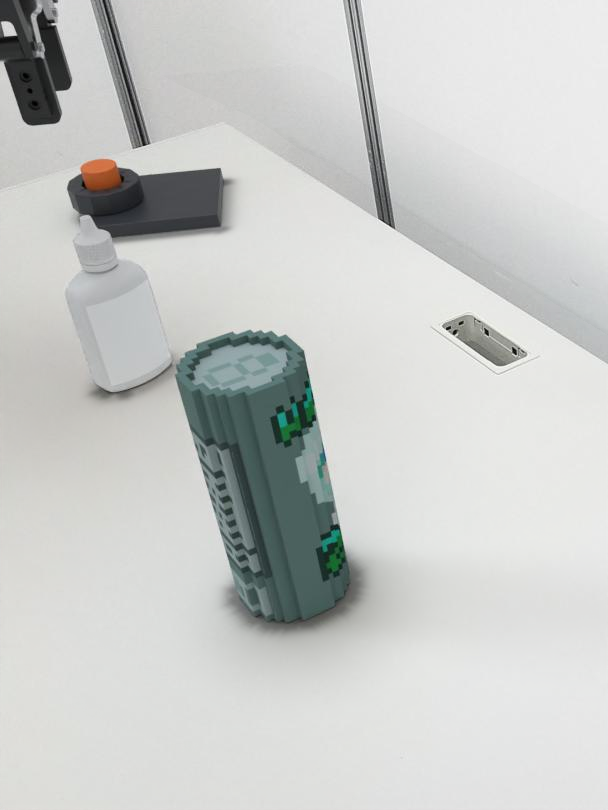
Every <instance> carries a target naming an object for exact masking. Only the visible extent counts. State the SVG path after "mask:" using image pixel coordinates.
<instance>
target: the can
mask: <svg viewBox="0 0 608 810" xmlns="http://www.w3.org/2000/svg"><path fill="white" fill-rule="evenodd" d="M195 346H196V348H194V349H190V350H188V351H185V352H184V356H183V357H180V358H179V360H180V362H179V363H176V364H175V367H176V372H177V373H175V374H174V379H175V382H176V384H177V389H178V391H179V395H180V398H181V402H182V405H183V409H184V412H185V415H186V419H187V423H188V426H189V429H190V434H191V437H192V440H193V443H194V447H195V450H196V454H197V457H198V460H199V464H200V467H201V471H202V474H203V478H204V481H205V484H206V488H207V491H208V496H209V498H210V502H211V505H212V509H213V512H214V516H215V519H216V523H217V527H218V530H219V531H220V533H219V534H220V537H221V540H222V543H223V547H224V550H225V553H226V557H227V560H228V564H229V567H230V568H229V569H230V571H231V575H232V577H233V581H234V585H235V588H236V591H237V595H238V597H239V598H238V599H239V600H240V601H241V602H242V603H243V605H244V606H245V607H246V608H247V610H249V612H250V613H251V614H252V616H253V617H255V618H256V617H258V616H260V615H262V616H263V618H264V619H265V620H266V622H270V621H273V620H275V621H276V623H280V622H282V621H285V623H287V624H289V623H292V622H293V621H295V620H298V619H301V620H302V621H303V622H305V621H307V620H309V619H310V618H311V619H312V618H313V617H315V616H317V615H320V614H321V613H323V612H326V611H328V610H330V609H332V608H334V607H336V601H337V600H340V599H342V598H344V597H345V592H346V591H348V585H350V584H351V580H350V575H349V574H350V569H349V564H348V563H349V562H348V558H347V554H346V549H345V544H344V539H343V533H342V529H341V525H340V520H339V515H338V510H337V505H336V504H337V503H336V500H335V495H334V490H333V486H332V485H333V484H332V481H331V476H330V470H329V466H328V461H327V455H326V451H325V447H324V442H323V441H324V440H323V435H322V431H321V427H320V422H319V417H318V413H317V407H316V403H315V398H314V397H315V396H314V393H313V388H312V383H311V379H310V373H309V367H308V364H307V359H306V353H305V350H304V349H303V348H302V347H301V346H299V344H297V343H296V342H295V341H294V340H293V339H292V338H291V337H290V336H289V335H287V334H286V333H285V334H282V335H280V336H278V335H277V334H276V333H275V332H274V331H272V330H269V331H267V332H264V331H263V330H262V329H260V330H257V331H253V330H252V329H248V330H244V331H242V332H239V333H237V334H236V333H235V332H234V331H229V332H227V333H223V334H221V335H218V336H216V337H213V338H210V339H207V340H204V341H201V342H198V343H196V344H195Z"/></svg>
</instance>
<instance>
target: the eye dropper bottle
mask: <svg viewBox="0 0 608 810" xmlns="http://www.w3.org/2000/svg"><path fill="white" fill-rule="evenodd" d="M79 223H80V224H79V225H80V232H79V233H77V234H76V235H75V236H74V237H73V239H72V243H73V246H74V249H75V252H76V255H77V258H78V261H79V265H80V267H81V270H80V271H79V272H78V273H77V274H76V275H75V276H74V277H73V278H72V279H71V281H69V283H68V285H67V286H66V288H65V291H64V296H65V300H66V304H67V307H68V310H69V313H70V316H71V319H72V322H73V324H74V328H75V331H76V334H77V337H78V341H79V343H80V346H81V349H82V351H83V352H82V353H83V354H84V357H85V361H86V363H87V366H88V369H89V373H90V375H91V378H92V380H93V382H94V383H95V385H97V386H98V387H100V388H102V389H104V390H105V391H108V392H111V393H118V392H123V391H126V390H129V389H132V388H135V387H138V386H140V385H143V384H144V383H147V382H149V381H150V380H153V379H154V378H156V377H158V376H159V375H160V374H161V373H163V372H164V371H165V370H166V369H167V368H168V367H170V365H171V363H172V360H173V359H172V357H173V356H172V353H171V349H170V346H169V341H168V340H167V339H168V338H167V335H166V332H165V329H164V325H163V322H162V318H161V316H160V311H159V308H158V305H157V301H156V298H155V295H154V291H153V289H152V285H151V282H150V279H149V276H148V273H147V271H146V270H145V269H144V267H142V266H141V265H140V264H138V263H136V262H134V261H132V260H129V259H122V258H121V259H119V258H118V255H117V252H116V251H117V250H116V248H115V244H114V241H113V238H111V235H110V233H109V232H107V231H105V230H102V229H98V228H97V227H96V225H95V223H94V222H93V220H92V218H91V216H90V215H86V214H83V215H81V216H80V217H79Z"/></svg>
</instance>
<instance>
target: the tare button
mask: <svg viewBox="0 0 608 810" xmlns="http://www.w3.org/2000/svg"><path fill="white" fill-rule="evenodd" d="M79 170H80V174H81V173H82V176H83V180H84V183H85V186H86V189H89V190H106V189H110V188H113V187H116V186H118V185H119V184H121V183H122V181H121V178H120V174H119V171H118V164H117V162H116V160H113V159H111V158H97V159H93V160H89V161H86V162H84V163H83V164H81V166H80V168H79Z"/></svg>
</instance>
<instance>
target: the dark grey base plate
mask: <svg viewBox="0 0 608 810" xmlns="http://www.w3.org/2000/svg"><path fill="white" fill-rule="evenodd" d="M117 167H118V166H117ZM118 171H119V174H120V178H121V181H122V183H121V184H119V185H118V186H116V187H113V188H110V189H106V190H89V189H86V186H85V183H84V180H83V176H82V173H81V172H80V173H79V174H77V175H76V176H74V177H73V178H71V179H70V180H69V181H68V182H67V187H66V190H67V194H68V196H69V201H70V203H71V206H72V209H73V210H75V211H76V212H77V213H78V214H81V215H90V216H91V218H92V220H93V222H94V223H95V225H96V227H97V228H98V229H102V230H105V231H107V232H109V233H110V235H111V238H112V239H114V238H115V239H116V238H124V237H133V236H142V235H151V234H152V235H154V234H162V233H172V232H181V231H182V232H183V231H191V230H201V229H202V230H203V229H210V228H221V225H222V211H223V192H224V176H223V171H222V168H221V167H215V168H205V169H204V168H203V169H193V170H183V171H174V172H173V171H172V172H163V173H153V174H151V173H150V174H141V175H140V174H139V173H137V172H135V170H132V169H131V168H127V167H126V168H124V167H118Z"/></svg>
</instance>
